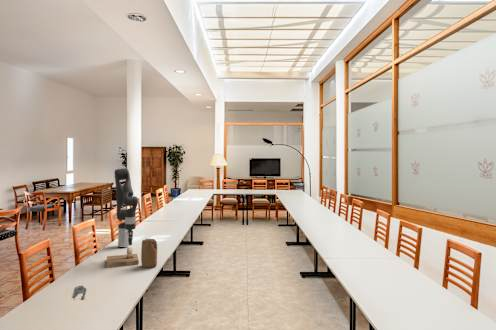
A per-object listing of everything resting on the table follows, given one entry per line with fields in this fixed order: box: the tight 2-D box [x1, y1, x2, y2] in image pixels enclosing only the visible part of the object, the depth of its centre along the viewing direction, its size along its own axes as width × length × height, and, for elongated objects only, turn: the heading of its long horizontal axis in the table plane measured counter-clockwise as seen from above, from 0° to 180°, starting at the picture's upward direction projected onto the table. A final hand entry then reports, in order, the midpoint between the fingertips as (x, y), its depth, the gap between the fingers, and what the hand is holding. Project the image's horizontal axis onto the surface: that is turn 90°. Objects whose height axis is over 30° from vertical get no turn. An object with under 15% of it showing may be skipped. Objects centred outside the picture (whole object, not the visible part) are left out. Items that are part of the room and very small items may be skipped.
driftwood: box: [72, 285, 87, 301], centre depth 185 cm, size 21×7×2 cm, turn 22°
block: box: [140, 238, 158, 269], centre depth 233 cm, size 11×8×20 cm
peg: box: [126, 247, 133, 259], centre depth 243 cm, size 4×4×10 cm
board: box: [105, 253, 140, 269], centre depth 241 cm, size 18×22×3 cm
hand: (130, 243), depth 243 cm, fingers open, 8 cm apart
